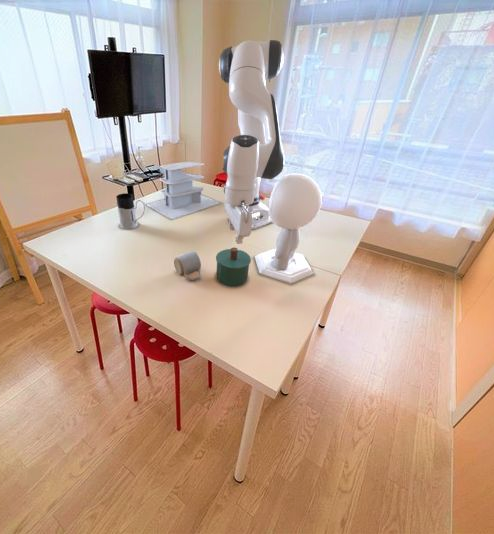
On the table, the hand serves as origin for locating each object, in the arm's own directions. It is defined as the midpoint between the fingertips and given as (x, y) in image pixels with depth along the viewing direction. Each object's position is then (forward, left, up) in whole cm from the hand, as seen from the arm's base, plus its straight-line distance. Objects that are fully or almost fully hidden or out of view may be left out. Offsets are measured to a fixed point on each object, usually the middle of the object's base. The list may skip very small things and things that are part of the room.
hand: (235, 235), depth 90 cm
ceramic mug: (+13, -9, -18) cm, 24 cm away
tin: (0, 0, -17) cm, 17 cm away
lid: (0, 0, -9) cm, 9 cm away
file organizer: (-11, -73, -18) cm, 76 cm away
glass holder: (+22, -57, -18) cm, 63 cm away
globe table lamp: (-22, +2, -18) cm, 28 cm away
